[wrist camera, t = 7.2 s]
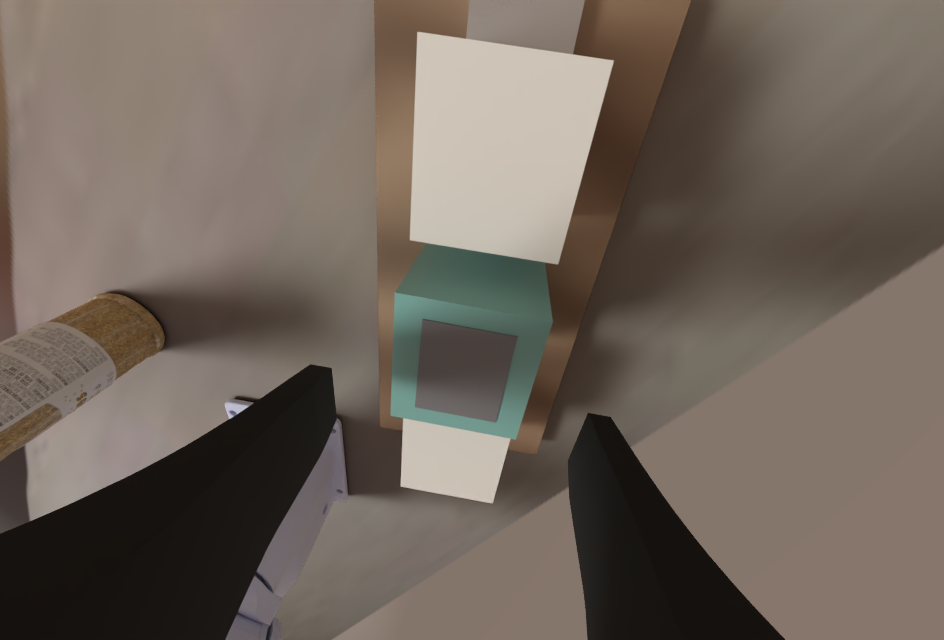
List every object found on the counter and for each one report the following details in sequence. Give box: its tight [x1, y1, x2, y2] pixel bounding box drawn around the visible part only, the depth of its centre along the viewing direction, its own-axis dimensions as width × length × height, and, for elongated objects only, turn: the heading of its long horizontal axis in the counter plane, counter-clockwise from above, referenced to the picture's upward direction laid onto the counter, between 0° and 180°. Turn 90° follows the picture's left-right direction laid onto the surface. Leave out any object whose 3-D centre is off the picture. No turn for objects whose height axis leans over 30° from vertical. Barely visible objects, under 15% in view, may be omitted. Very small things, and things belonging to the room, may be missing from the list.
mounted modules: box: [401, 32, 614, 503], centre depth 15 cm, size 18×4×4 cm, turn 173°
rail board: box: [374, 0, 691, 455], centre depth 18 cm, size 22×10×1 cm, turn 173°
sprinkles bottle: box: [0, 293, 165, 461], centre depth 17 cm, size 5×5×14 cm
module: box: [390, 243, 553, 440], centre depth 14 cm, size 5×4×6 cm
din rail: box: [466, 0, 585, 54], centre depth 17 cm, size 21×4×1 cm, turn 173°
